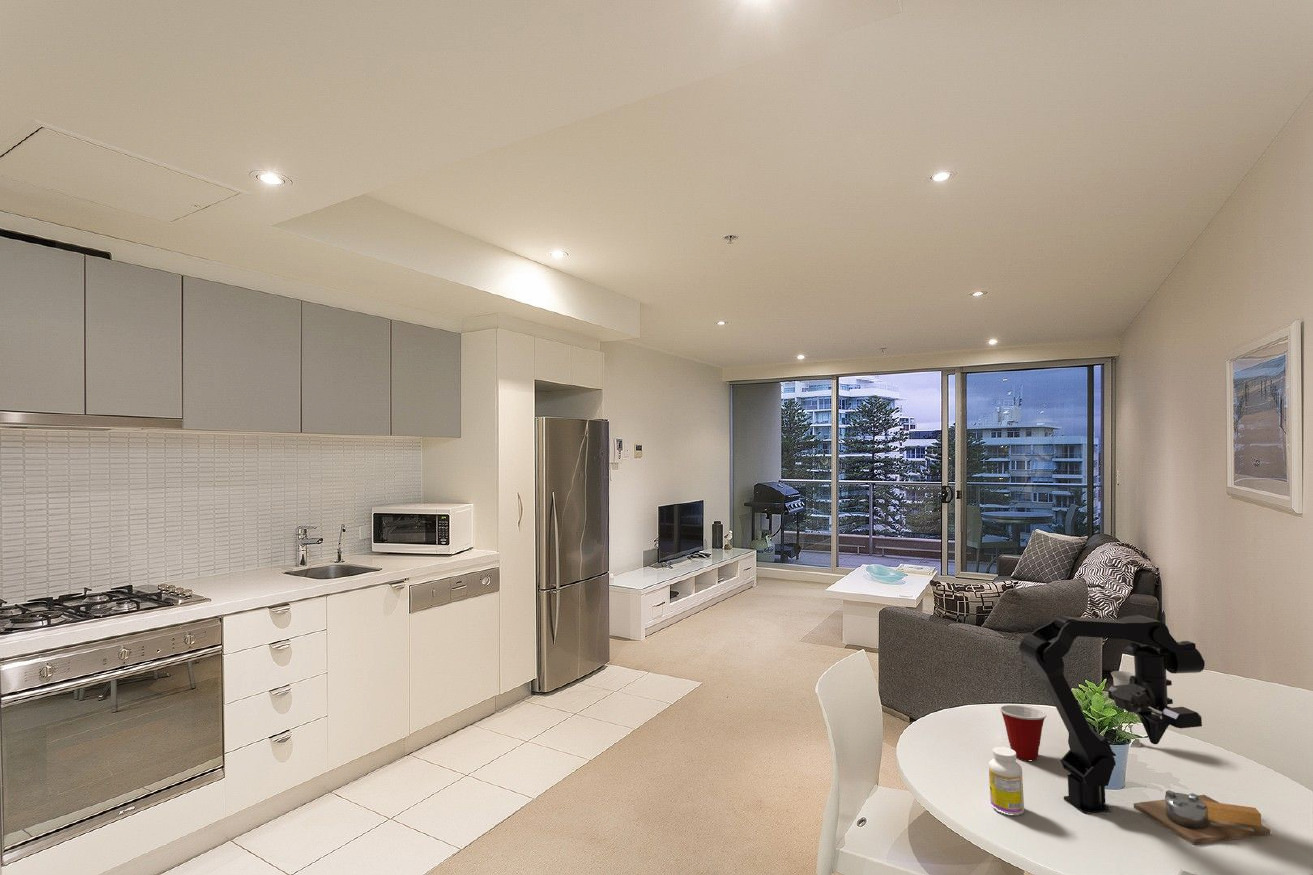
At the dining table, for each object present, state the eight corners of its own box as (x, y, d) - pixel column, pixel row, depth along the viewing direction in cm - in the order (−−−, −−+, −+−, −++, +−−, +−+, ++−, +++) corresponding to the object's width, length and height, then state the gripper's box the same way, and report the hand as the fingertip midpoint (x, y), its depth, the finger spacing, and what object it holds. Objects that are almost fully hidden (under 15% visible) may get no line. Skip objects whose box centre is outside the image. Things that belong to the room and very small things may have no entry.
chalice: (1107, 738, 180) (1104, 671, 180) (1131, 736, 181) (1127, 670, 181) (1129, 749, 173) (1125, 680, 173) (1153, 747, 173) (1149, 679, 174)
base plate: (1193, 844, 131) (1193, 839, 131) (1133, 807, 145) (1133, 802, 145) (1270, 834, 134) (1270, 829, 134) (1204, 799, 148) (1204, 794, 148)
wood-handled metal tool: (1172, 824, 136) (1171, 803, 136) (1161, 807, 143) (1159, 787, 143) (1267, 838, 130) (1266, 816, 131) (1250, 820, 137) (1249, 799, 137)
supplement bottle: (996, 798, 151) (993, 741, 152) (1028, 808, 146) (1025, 750, 147) (986, 809, 147) (983, 751, 147) (1018, 820, 142) (1015, 760, 142)
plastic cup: (1049, 752, 173) (1047, 706, 173) (1048, 769, 164) (1045, 721, 164) (1003, 743, 179) (1001, 699, 179) (999, 759, 170) (997, 713, 170)
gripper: (1086, 663, 156) (1089, 730, 156) (1155, 691, 138) (1159, 766, 137) (1127, 660, 158) (1131, 725, 157) (1201, 686, 139) (1206, 761, 139)
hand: (1154, 743), depth 148 cm, fingers closed
